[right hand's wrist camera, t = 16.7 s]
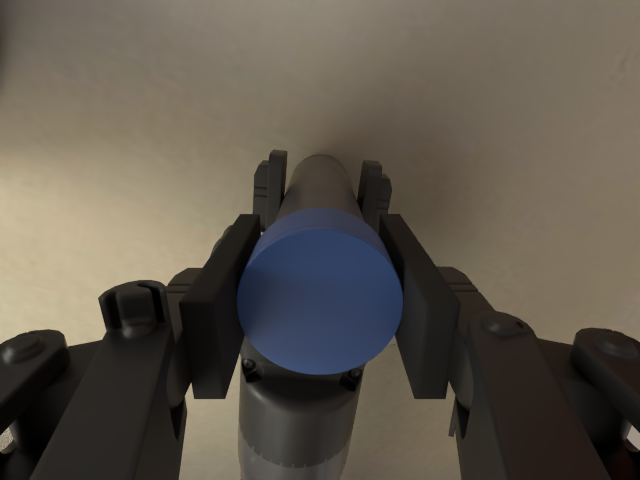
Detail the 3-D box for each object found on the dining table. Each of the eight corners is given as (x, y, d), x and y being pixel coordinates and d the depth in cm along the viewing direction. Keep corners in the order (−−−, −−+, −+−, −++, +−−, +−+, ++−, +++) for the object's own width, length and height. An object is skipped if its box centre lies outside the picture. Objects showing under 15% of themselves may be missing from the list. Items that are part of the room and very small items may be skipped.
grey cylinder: (338, 147, 24) (367, 215, 10) (355, 201, 26) (401, 333, 11) (283, 165, 25) (230, 258, 10) (302, 218, 26) (280, 366, 12)
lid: (219, 260, 12) (200, 292, 10) (337, 177, 11) (341, 194, 9) (305, 355, 13) (303, 398, 11) (416, 288, 12) (434, 324, 10)
